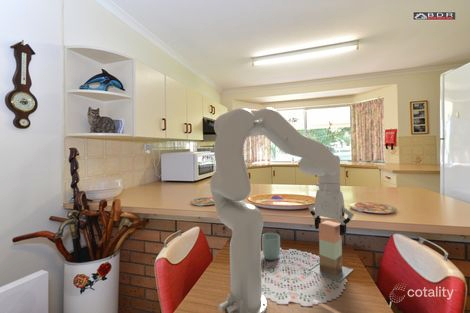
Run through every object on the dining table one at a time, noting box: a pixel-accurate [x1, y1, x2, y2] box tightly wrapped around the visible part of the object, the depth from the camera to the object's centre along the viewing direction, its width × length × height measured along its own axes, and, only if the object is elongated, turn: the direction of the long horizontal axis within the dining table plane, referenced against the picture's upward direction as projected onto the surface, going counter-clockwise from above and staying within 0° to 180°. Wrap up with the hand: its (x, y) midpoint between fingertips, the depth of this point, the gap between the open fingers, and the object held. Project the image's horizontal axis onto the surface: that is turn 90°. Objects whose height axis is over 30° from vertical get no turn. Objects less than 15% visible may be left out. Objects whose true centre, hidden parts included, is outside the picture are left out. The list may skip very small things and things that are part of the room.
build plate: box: [308, 260, 354, 283], centre depth 86 cm, size 12×12×1 cm
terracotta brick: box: [318, 220, 343, 244], centre depth 86 cm, size 6×6×6 cm
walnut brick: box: [319, 254, 343, 276], centre depth 86 cm, size 6×6×6 cm
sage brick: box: [318, 238, 343, 260], centre depth 86 cm, size 6×6×6 cm
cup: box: [261, 232, 281, 261], centre depth 98 cm, size 8×8×10 cm
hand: (329, 231), depth 85 cm, fingers open, 9 cm apart
